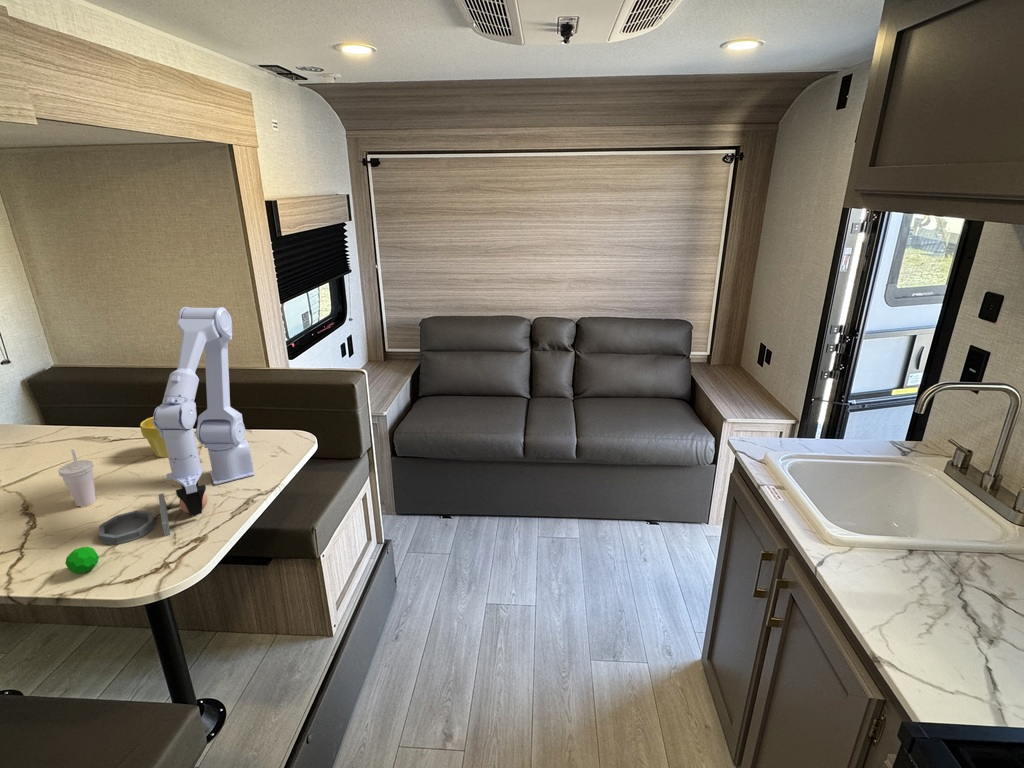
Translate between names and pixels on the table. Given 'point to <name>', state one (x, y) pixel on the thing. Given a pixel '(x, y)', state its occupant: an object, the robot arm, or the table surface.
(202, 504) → the ball
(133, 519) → the gray octagonal bowl
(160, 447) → the plant pot
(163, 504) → the low wall
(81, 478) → the smoothie
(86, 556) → the polyhedron
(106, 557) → the table surface
